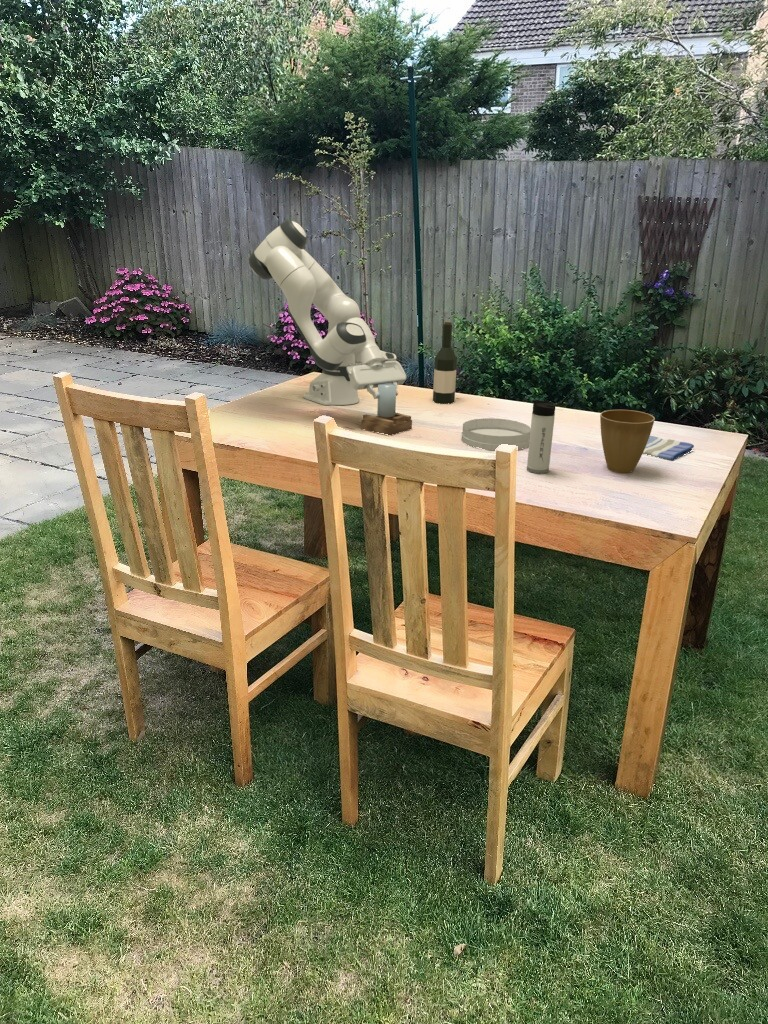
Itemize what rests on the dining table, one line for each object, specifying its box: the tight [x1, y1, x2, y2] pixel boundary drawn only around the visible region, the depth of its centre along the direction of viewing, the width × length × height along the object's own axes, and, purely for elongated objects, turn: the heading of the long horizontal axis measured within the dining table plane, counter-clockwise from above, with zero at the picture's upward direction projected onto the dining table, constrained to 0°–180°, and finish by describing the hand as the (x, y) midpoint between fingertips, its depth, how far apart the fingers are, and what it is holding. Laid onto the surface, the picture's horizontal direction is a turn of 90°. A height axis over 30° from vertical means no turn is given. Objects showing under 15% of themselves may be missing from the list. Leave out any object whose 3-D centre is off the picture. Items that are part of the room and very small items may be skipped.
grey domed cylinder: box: [376, 383, 397, 417], centre depth 258 cm, size 6×6×10 cm
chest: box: [360, 411, 413, 436], centre depth 261 cm, size 12×12×5 cm
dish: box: [460, 417, 531, 452], centre depth 251 cm, size 22×22×5 cm
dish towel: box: [642, 435, 695, 461], centre depth 249 cm, size 17×24×3 cm
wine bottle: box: [432, 321, 458, 405], centre depth 295 cm, size 8×8×30 cm
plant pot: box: [599, 409, 656, 474], centre depth 225 cm, size 15×15×16 cm
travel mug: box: [526, 399, 556, 475], centre depth 221 cm, size 6×7×20 cm
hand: (386, 396), depth 258 cm, fingers closed on grey domed cylinder, 6 cm apart
